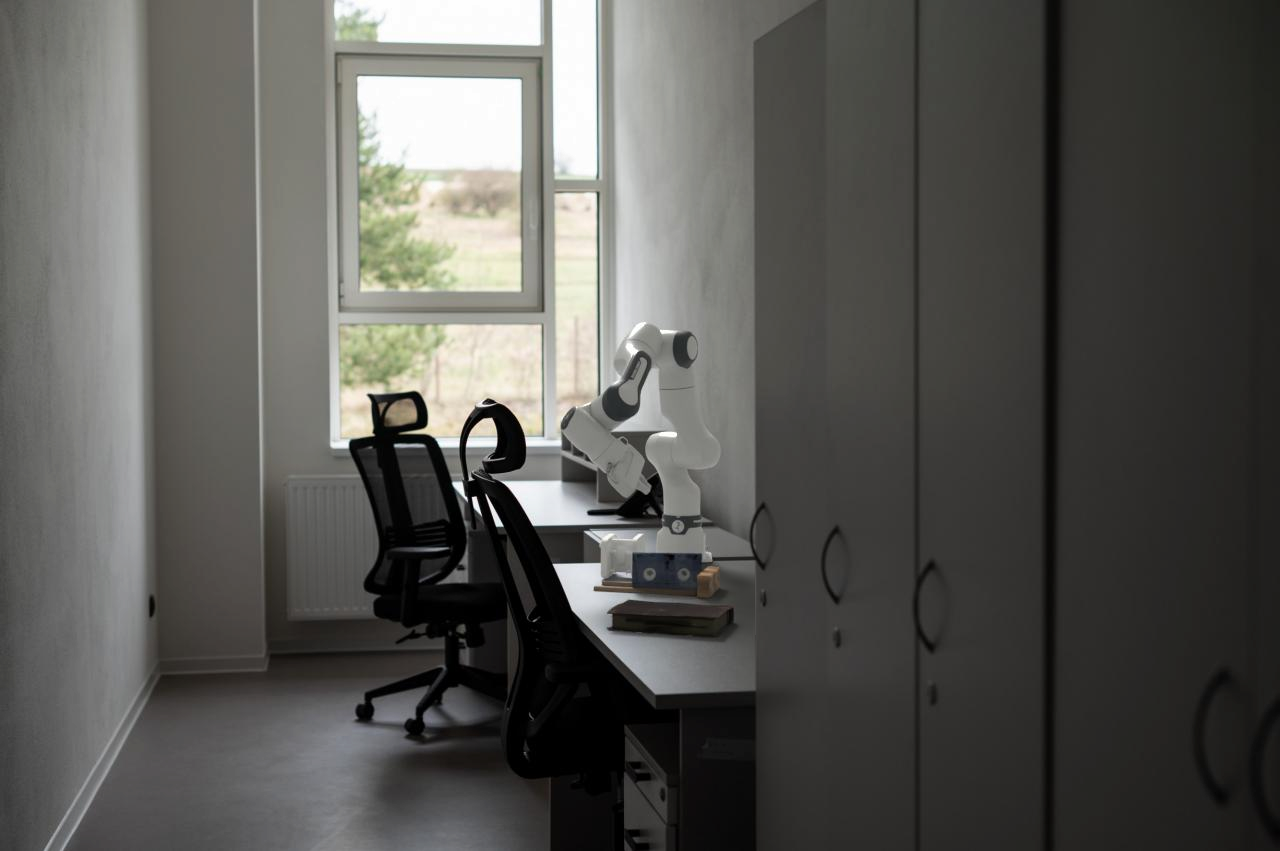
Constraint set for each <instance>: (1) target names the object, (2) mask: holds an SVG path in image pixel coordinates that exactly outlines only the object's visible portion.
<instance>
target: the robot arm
mask: <svg viewBox="0 0 1280 851" xmlns="http://www.w3.org/2000/svg"><path fill="white" fill-rule="evenodd" d="M698 352H699V345H698V340H697V337H696V336H695V335H694V334H693V333H692V332H691V331H689V330H684V329H678V330H672V329H659V327H657V326H656V325H655V324H653V323H650V322H640V323H637V324H636V325H635V326H634V327H633V328H632V329H630V331H629V332H628V333H627V334H626V335H625V337H624V339H623V340H622V341H621V343H620V344H619V346H618V348H617V350H616V352H615V354H614V357H613V364H612V365H613V367H614V369H615V371H616V373H617V374H618V375H619V376H620V379H619V380H617V381H615V382H612V384H610V385H609V386H608V388H607V389H605V391H603V392H602V393H601V394H600V395H599V396H597V397H596V398H595V399H593V401H590V402H589V403H586V404H584V405H580V406H578V405H576V406H575V405H574V406H572V407H571V408H570V409H569V410H568V411H567V412H566V413H565V415H564V416H563V418H562V420H561V422H560V430H561V432H562V434H563V435H564V437H565V438H566V439H567V440H568V441H569V442H570V443H571V444H572V445H573V446H574V447H575V448H576V449H577V450H578V451H580V452H582V453H584V454H585V455H587V457H588V459H589V460H590V461H591V463H593V464H594V465H595V466H597V468H598V469H600V470H601V472H603V473H604V474H606V476H607V480H608V483H609V484H610V485H611V487H613V488H614V489H615V490H616V492H618V494H620V495H621V496H622V497H623V498H625V499H626V498H627V499H628V498H629V497H630V496H632V494H633V493H634V492H635V491H636V490H638V491H640V492H641V493H643V494H644V495H648V494H649V493H651V489H652V485H651V484H650V483H649V482H648V480H647V479H646V477H645V476H644V475H643V474H642V472H643V469H644V466H645V462H646V461H645V460H646V459H645V458H644V456H643V455H642V454H641V453H640V452H639V451H638V450H637V449H636V448H635V447H634V446H633V445H631V443H629V440H628V439H627V438H626V437H624V436H621V437H618V438H617V437H615V436H614V435H612V434H611V433H612V432H614V430H616V429H617V428H618V427H620V426H621V425H623V424H624V423H625V422H626V421H628V420H630V419H631V418H633V417H635V416H637V414H638V412H639V410H640V408H641V395H642V394H641V393H642V390H643V387H644V386H645V383H646V381H647V378H648V376H649V374H650V372H651V371H652V369H657V370H658V377H657V378H658V393H659V394H658V395H659V405H660V413H661V415H662V417H664V418H665V419H666V420H667V421H668V422H669V423H670V424H671V426H672V427H673V429H674V431H666V430H665V431H660V432H657V433H656V432H655V433H653V434H651V435H650V436H649V437H648V439H647V440H646V443H645V448H644V449H645V450H644V451H645V457H646V458H647V460H648V461H649V462H650V463H651V464H652V466H654V468H655V469H656V471H657V473H658V475H659V479H660V482H661V485H662V491H663V492H662V493H663V513H662V514H661V515H662V516H661V526H662V528H661V529H660V530H659V531H657V535H656V546H655V549H656V550H655V551H656V552H655V553H702V563H712V562H713V556H712V552H711V551H710V552H709V551H708V549H709V547H708V545H706V533H705V532H704V531H703V528H702V525H703V517H702V514H701V489H700V487H699V486H698V484H697V483H695V482H694V481H693V480H692V478H691V477H690V474H689V471H688V470H706V469H710V468H713V467H715V466H716V465H717V463H718V462H719V460H720V458H721V455H722V454H721V453H722V448H721V445H720V442H719V440H718V439H717V438H716V437H715V436H714V435H713V434H711V432H710V431H709V430H708V429H707V427H706V425H705V422H704V421H703V419H702V417H701V413H700V410H699V405H698V398H697V396H698V394H697V386H696V378H695V372H694V367H693V364H694V363H695V361H696V360H697V357H698Z"/></svg>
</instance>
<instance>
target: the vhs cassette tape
mask: <svg viewBox="0 0 1280 851" xmlns="http://www.w3.org/2000/svg"><path fill="white" fill-rule="evenodd" d="M702 571H703V562H702V553H656V552H645V553H638V552H632V576H631V582H632V587H631V588H652V589H672V590H692V591H697V575H699V574H700V573H701V572H702Z"/></svg>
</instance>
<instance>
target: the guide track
mask: <svg viewBox="0 0 1280 851" xmlns="http://www.w3.org/2000/svg"><path fill="white" fill-rule="evenodd" d="M720 570H721V566H710V565H709V566H707V567H706V568H704V569H702V572H701V573H700V574H699V575H697V591H692V590H672V589H652V588H632V581H622V580H621V581H620V580H602V581H601V585H593V591H595V592H597V591H598V592H599V591H600V592H616V593H617V592H618V593H620V592H621V593H639V594H655V595H656V594H658V595H659V594H660V595H677V596H680V595H681V596H696V598H697V599H710V598H711V597H712V596H713V595H714V594H715V593H716V592H717V591H718V590H719V589H720Z"/></svg>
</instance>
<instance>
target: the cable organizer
mask: <svg viewBox="0 0 1280 851" xmlns="http://www.w3.org/2000/svg"><path fill="white" fill-rule="evenodd" d="M645 545H646V538H645V533H637V534H636V535H635V536H634V537H633V538H632V539H625V538H624V539H623V538H617V534H616V533H608V534H606V535H605V536H604V537H602V539H601V540H600V541H599V545H598V546H599V548H600V577H601V579H602V578H603V580H608V579H609V578H610V577H611V576H612V575H617V573H625V575H628V574H631V577H632V552H638V553H646V552H645V550H646V546H645Z"/></svg>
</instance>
